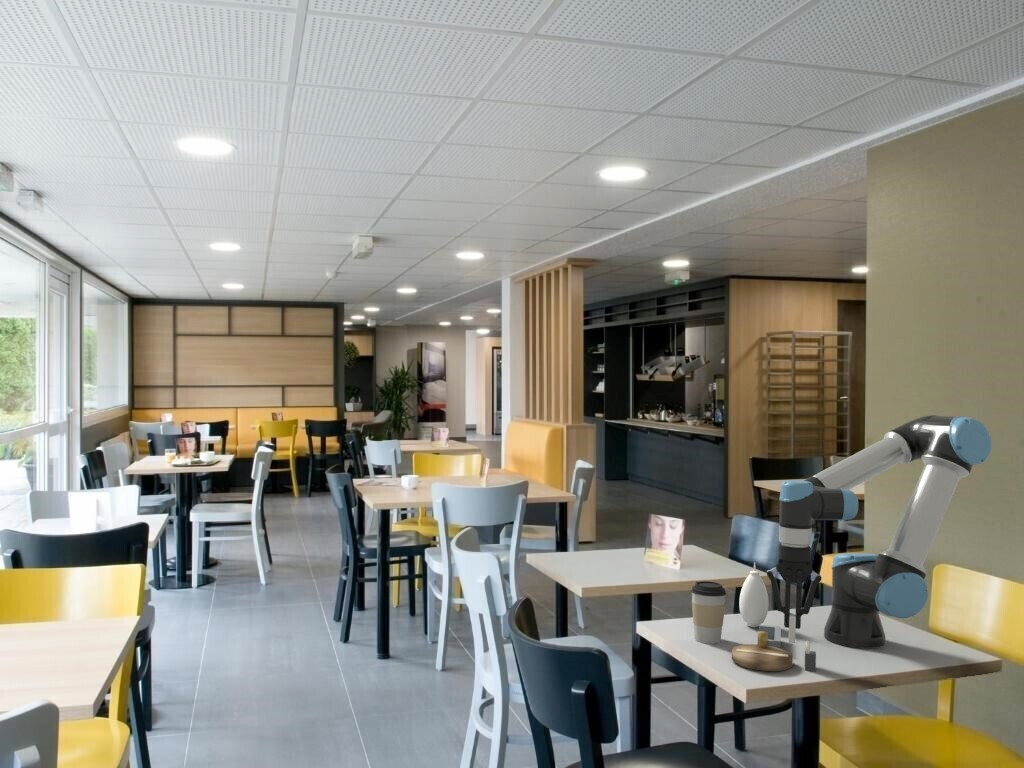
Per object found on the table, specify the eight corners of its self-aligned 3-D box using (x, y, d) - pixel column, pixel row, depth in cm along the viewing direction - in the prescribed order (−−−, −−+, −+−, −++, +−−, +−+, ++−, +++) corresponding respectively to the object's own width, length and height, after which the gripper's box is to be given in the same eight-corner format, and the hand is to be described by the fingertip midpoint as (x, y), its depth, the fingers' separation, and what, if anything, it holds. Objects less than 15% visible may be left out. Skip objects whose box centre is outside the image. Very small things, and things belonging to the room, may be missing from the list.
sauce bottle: (765, 631, 229) (767, 566, 229) (736, 627, 232) (738, 562, 232) (769, 624, 236) (771, 561, 236) (741, 621, 239) (743, 558, 239)
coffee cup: (722, 635, 224) (723, 579, 225) (727, 645, 215) (729, 587, 216) (688, 633, 225) (689, 578, 225) (692, 643, 216) (693, 585, 216)
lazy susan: (792, 656, 206) (792, 634, 206) (792, 673, 193) (793, 650, 193) (733, 649, 211) (733, 627, 211) (730, 666, 197) (730, 643, 197)
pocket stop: (780, 640, 222) (780, 626, 222) (780, 656, 208) (780, 642, 208) (758, 637, 223) (759, 624, 223) (757, 653, 210) (757, 639, 210)
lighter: (815, 667, 200) (815, 640, 200) (815, 672, 197) (816, 644, 197) (804, 666, 200) (805, 639, 200) (804, 670, 197) (805, 642, 197)
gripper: (822, 544, 206) (819, 640, 205) (767, 539, 210) (764, 633, 209) (824, 549, 198) (820, 649, 198) (766, 544, 202) (763, 642, 202)
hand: (791, 641), depth 204 cm, fingers closed
